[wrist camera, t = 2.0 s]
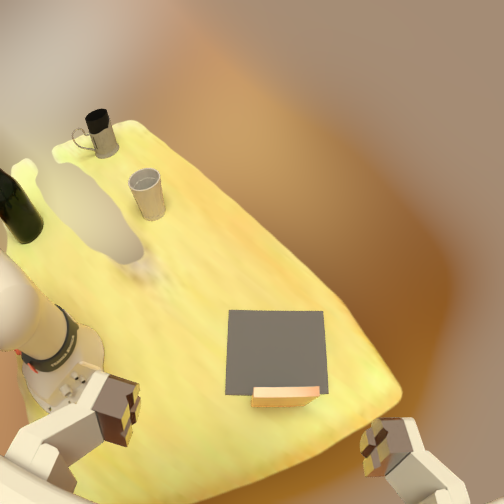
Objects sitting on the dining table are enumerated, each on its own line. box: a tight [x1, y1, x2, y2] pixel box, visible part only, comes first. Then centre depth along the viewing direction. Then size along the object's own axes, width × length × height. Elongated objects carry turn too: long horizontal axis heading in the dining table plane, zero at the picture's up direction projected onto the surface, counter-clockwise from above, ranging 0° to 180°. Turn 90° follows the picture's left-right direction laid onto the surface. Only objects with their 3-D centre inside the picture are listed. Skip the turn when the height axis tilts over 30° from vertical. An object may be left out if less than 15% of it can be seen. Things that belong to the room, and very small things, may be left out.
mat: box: [225, 310, 329, 395], centre depth 62 cm, size 18×20×1 cm
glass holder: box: [72, 109, 119, 159], centre depth 90 cm, size 9×14×15 cm, turn 132°
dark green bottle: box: [0, 168, 43, 243], centre depth 64 cm, size 10×10×33 cm
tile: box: [251, 386, 320, 407], centre depth 50 cm, size 2×10×14 cm, turn 89°
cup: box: [128, 168, 165, 221], centre depth 76 cm, size 8×8×12 cm
